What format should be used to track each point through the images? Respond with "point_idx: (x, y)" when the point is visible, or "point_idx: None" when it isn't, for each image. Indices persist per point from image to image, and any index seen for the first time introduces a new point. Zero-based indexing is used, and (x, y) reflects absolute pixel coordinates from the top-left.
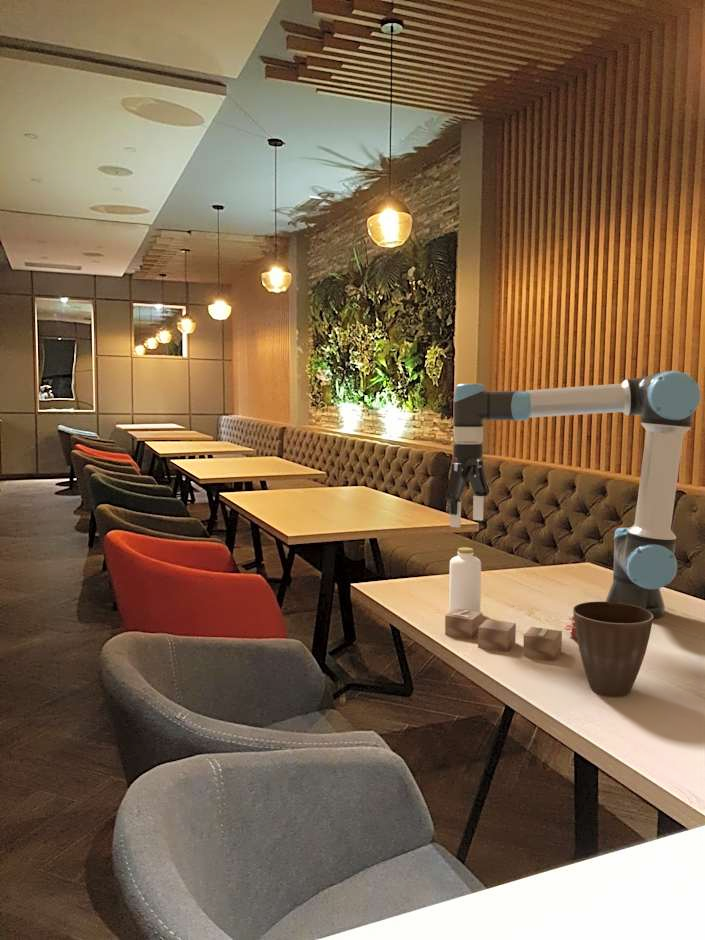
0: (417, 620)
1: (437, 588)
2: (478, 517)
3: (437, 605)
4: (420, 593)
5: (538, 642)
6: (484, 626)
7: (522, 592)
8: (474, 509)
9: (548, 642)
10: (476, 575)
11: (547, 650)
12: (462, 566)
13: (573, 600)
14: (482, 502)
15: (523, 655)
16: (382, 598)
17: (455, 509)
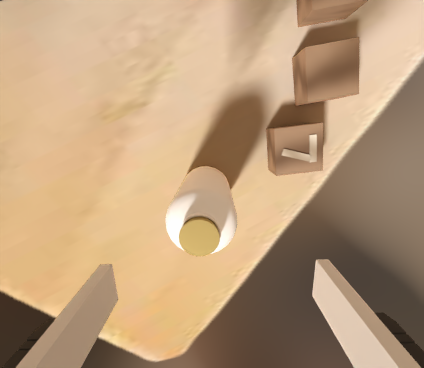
0: (270, 226)
1: None
2: (109, 287)
3: None
4: (149, 286)
5: None
6: (350, 86)
7: (30, 171)
8: (94, 334)
9: None
10: (211, 183)
11: None
12: (235, 211)
13: (6, 75)
14: (54, 338)
15: (346, 17)
16: (205, 310)
17: (408, 340)
